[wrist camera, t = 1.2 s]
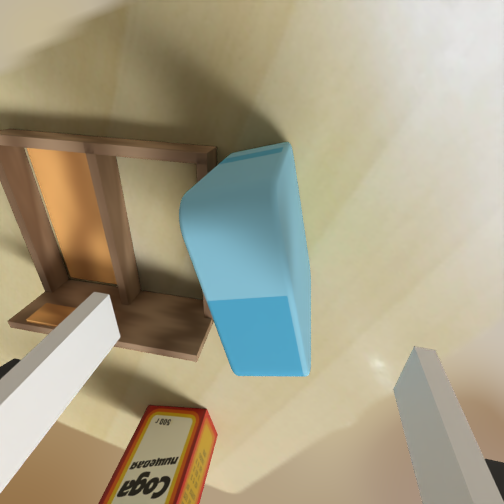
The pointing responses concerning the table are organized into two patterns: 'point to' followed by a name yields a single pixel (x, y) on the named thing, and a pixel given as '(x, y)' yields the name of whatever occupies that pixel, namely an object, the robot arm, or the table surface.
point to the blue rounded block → (253, 260)
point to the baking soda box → (164, 458)
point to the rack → (95, 236)
